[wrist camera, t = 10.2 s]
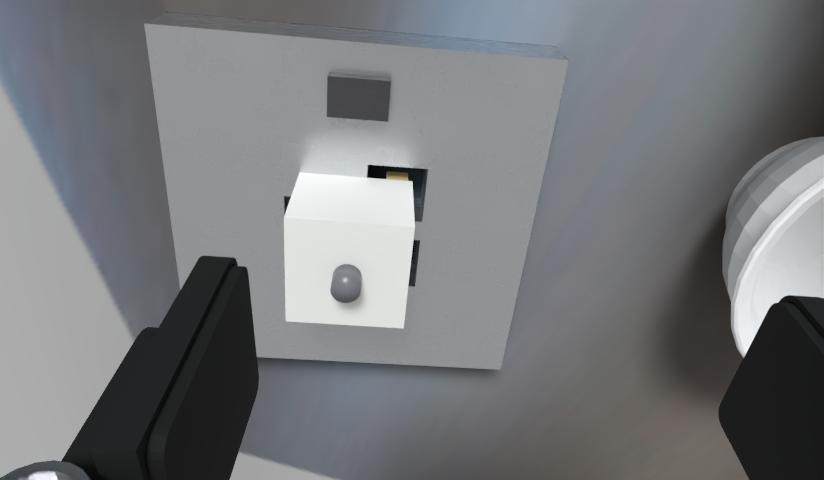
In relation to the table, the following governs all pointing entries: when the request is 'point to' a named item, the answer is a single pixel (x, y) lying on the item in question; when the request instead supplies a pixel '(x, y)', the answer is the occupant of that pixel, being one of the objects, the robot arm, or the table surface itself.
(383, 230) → the plug
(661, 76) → the table surface
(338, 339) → the socket
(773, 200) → the bowl
